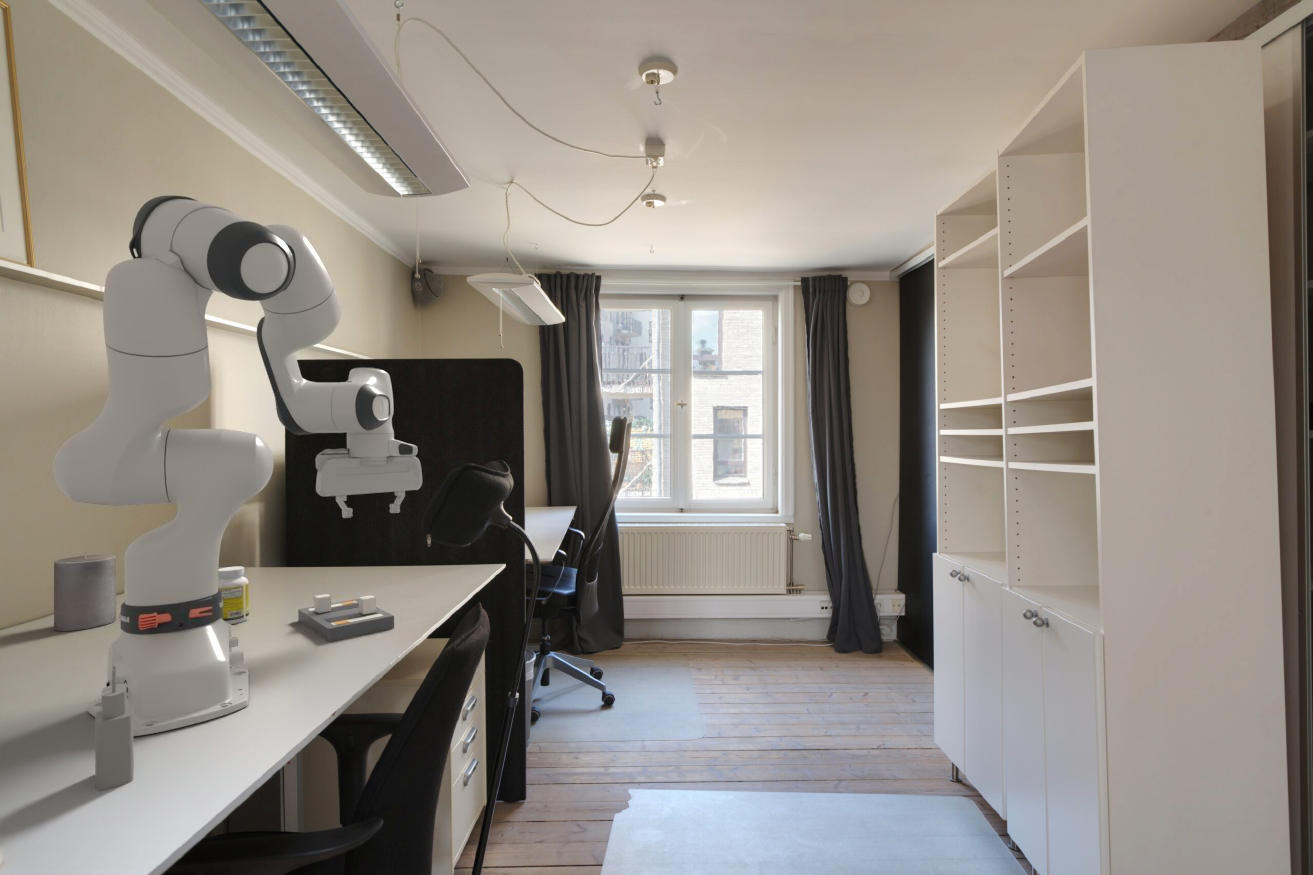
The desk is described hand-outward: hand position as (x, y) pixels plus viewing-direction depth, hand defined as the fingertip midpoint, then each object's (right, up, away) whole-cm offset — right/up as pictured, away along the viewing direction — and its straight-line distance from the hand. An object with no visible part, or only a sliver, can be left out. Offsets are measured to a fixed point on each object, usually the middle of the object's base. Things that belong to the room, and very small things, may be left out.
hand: (371, 515), depth 131 cm
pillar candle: (-60, -23, +1) cm, 64 cm away
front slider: (0, -19, -3) cm, 19 cm away
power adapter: (-1, -22, -61) cm, 65 cm away
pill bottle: (-30, -23, +1) cm, 37 cm away
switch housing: (-5, -22, -2) cm, 22 cm away
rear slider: (-9, -19, -1) cm, 22 cm away
